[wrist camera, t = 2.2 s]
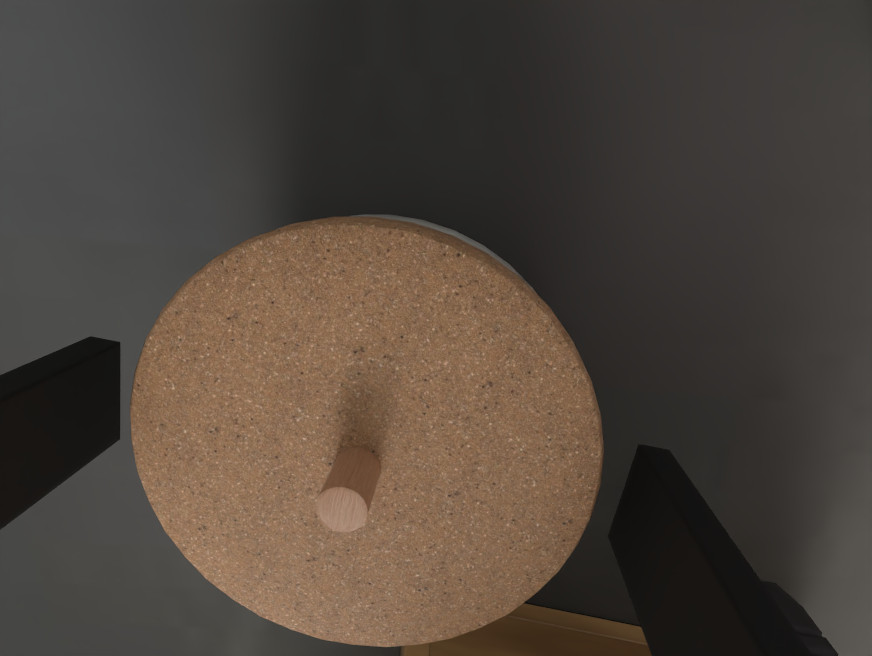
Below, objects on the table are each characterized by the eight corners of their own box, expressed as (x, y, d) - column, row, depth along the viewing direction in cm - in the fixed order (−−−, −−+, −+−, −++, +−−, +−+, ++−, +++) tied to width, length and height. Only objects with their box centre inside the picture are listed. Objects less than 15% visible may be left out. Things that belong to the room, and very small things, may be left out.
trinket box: (595, 238, 17) (719, 317, 9) (508, 505, 21) (533, 763, 12) (280, 162, 17) (75, 159, 9) (243, 440, 21) (67, 649, 12)
